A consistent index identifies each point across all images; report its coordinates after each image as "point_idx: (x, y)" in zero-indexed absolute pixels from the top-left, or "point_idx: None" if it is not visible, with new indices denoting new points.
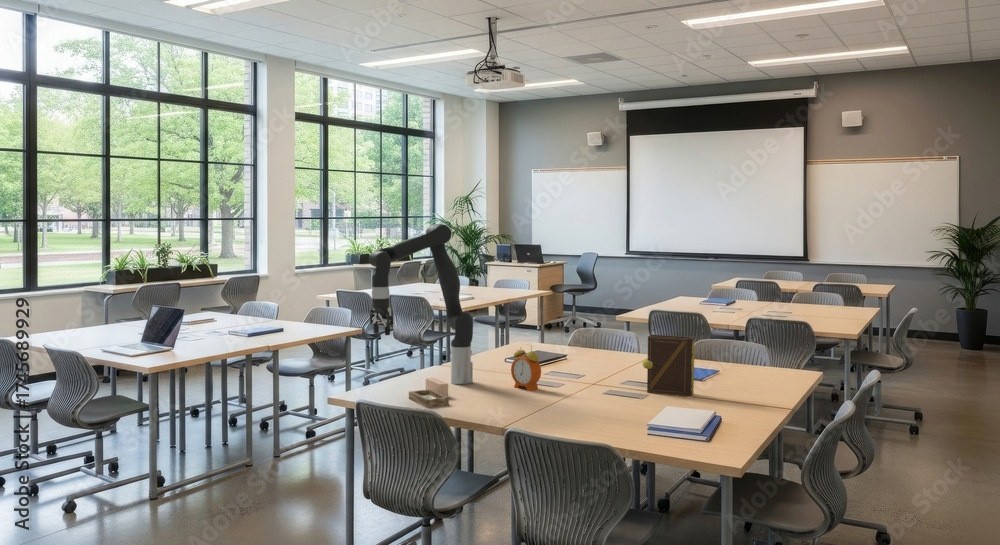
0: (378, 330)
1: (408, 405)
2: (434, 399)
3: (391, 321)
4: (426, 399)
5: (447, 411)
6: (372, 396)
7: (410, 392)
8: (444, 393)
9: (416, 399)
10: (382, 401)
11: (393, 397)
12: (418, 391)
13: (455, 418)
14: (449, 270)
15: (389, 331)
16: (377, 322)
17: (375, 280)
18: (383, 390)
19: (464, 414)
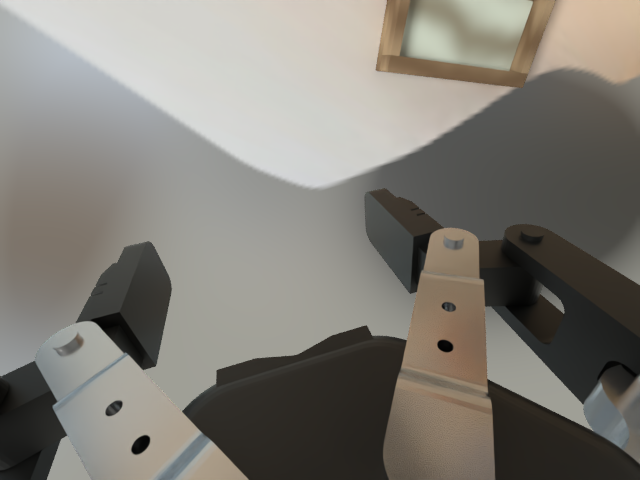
0: (145, 258)
1: (445, 121)
2: (534, 53)
3: (557, 273)
4: (516, 81)
5: (577, 52)
6: (268, 172)
7: (402, 72)
8: None
9: (443, 78)
10: (352, 170)
11: (324, 112)
12: (404, 26)
13: (627, 79)
14: None
15: (417, 215)
16: (98, 356)
17: None
18: (181, 87)
19: (633, 26)
